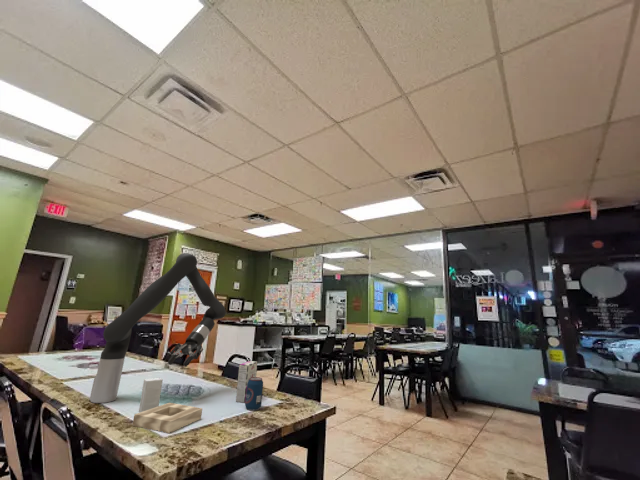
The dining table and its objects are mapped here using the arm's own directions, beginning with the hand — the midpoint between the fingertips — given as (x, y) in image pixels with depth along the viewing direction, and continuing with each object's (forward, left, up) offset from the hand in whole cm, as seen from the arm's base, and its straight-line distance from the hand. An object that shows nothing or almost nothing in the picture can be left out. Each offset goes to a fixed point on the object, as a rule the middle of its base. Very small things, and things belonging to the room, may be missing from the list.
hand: (176, 364), depth 132 cm
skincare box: (0, -12, -16) cm, 20 cm away
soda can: (+34, +11, -16) cm, 39 cm away
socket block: (+15, -17, -16) cm, 28 cm away
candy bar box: (+24, +21, -16) cm, 36 cm away
